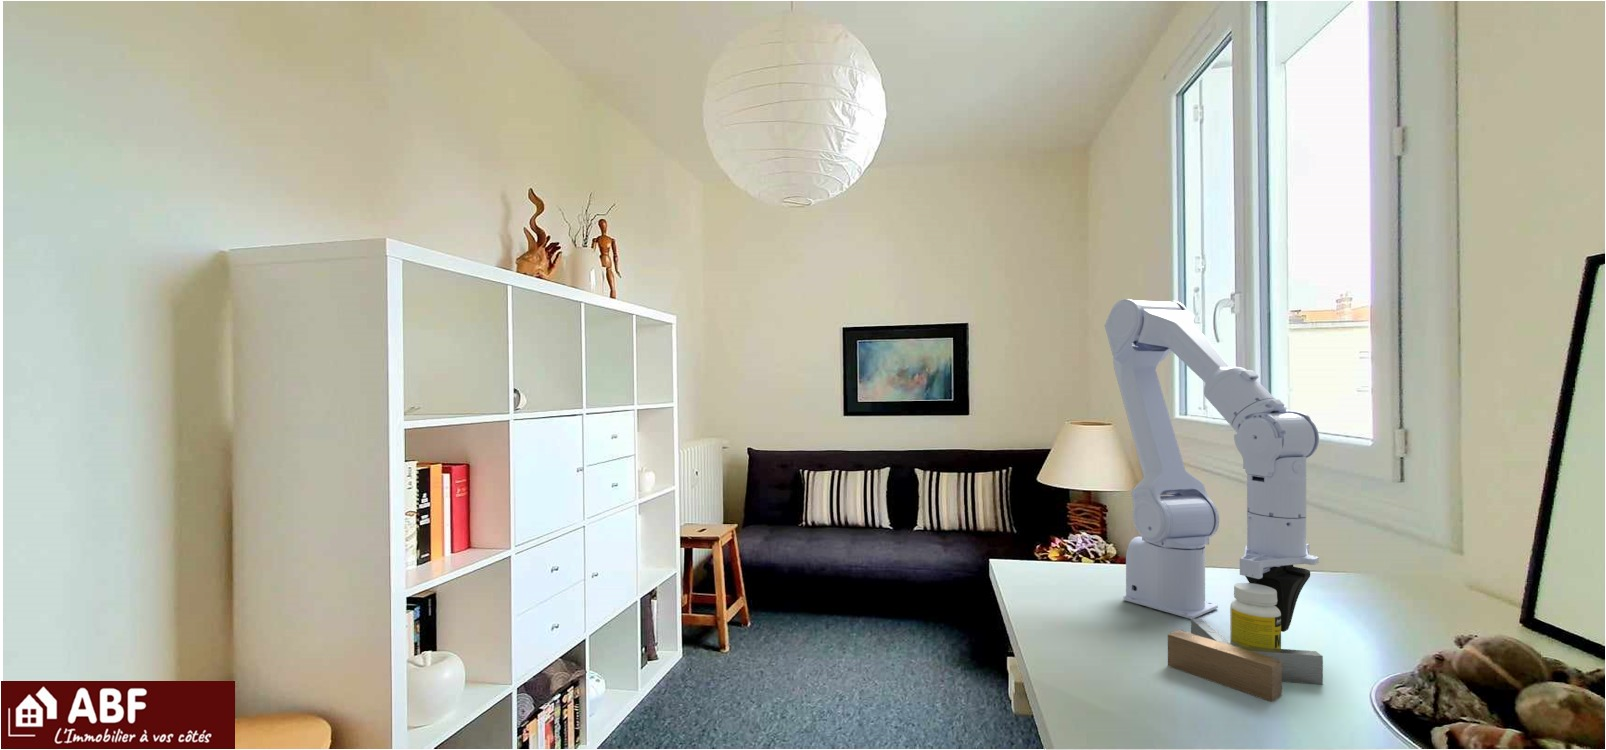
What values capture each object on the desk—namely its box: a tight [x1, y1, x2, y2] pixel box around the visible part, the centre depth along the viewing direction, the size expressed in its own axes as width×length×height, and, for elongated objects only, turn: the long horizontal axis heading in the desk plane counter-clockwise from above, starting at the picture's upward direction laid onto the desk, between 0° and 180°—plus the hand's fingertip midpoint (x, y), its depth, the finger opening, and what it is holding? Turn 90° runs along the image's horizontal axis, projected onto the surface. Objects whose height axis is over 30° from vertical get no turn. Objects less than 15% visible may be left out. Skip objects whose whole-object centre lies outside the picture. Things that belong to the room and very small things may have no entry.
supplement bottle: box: [1229, 582, 1282, 649], centre depth 74 cm, size 5×5×8 cm
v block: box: [1167, 618, 1324, 703], centre depth 71 cm, size 13×10×4 cm
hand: (1276, 628), depth 78 cm, fingers closed
